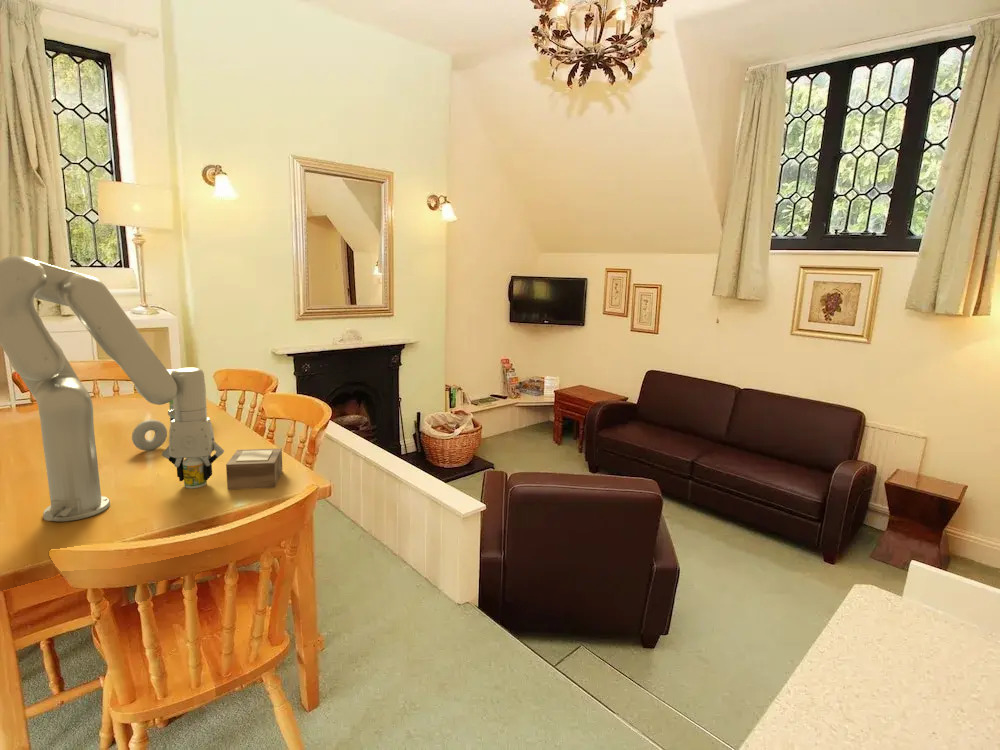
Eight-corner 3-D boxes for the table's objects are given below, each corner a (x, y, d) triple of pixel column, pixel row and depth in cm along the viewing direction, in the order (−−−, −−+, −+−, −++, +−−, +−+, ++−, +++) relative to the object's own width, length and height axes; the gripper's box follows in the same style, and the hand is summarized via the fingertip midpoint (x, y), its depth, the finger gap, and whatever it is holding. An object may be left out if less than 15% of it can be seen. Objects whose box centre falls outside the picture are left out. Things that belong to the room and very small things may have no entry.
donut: (136, 455, 167) (133, 424, 166) (131, 453, 169) (128, 422, 167) (170, 447, 176) (168, 417, 174) (165, 445, 178) (162, 415, 176)
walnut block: (275, 487, 148) (274, 461, 147) (227, 489, 146) (226, 463, 144) (282, 471, 160) (281, 447, 158) (238, 472, 157) (237, 448, 156)
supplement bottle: (211, 482, 150) (209, 449, 148) (197, 489, 145) (195, 455, 143) (193, 480, 151) (191, 447, 149) (179, 487, 145) (177, 453, 144)
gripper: (148, 419, 138) (154, 485, 142) (221, 417, 142) (225, 482, 146) (160, 411, 146) (165, 475, 149) (229, 410, 149) (232, 472, 153)
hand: (195, 478), depth 147 cm, fingers closed on supplement bottle, 5 cm apart
